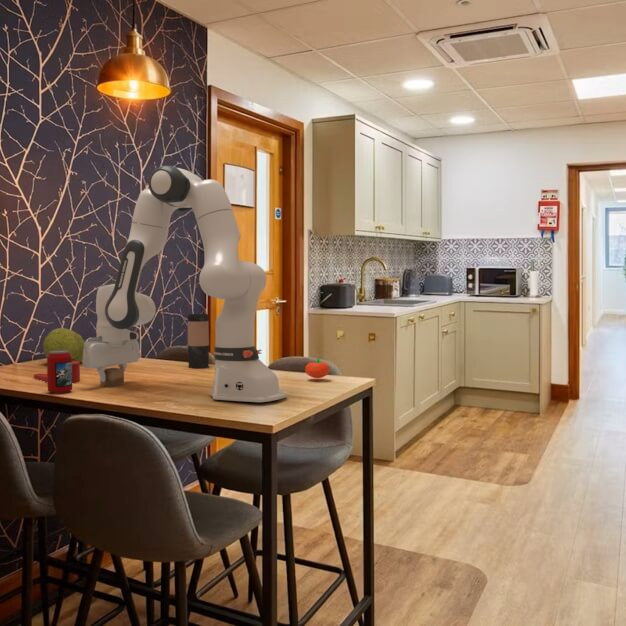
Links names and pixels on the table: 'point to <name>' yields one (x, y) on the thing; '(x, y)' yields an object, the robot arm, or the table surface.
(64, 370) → the beverage can
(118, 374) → the walnut cube
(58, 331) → the fruit
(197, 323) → the travel mug
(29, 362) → the table surface
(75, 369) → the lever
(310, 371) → the red tomato
